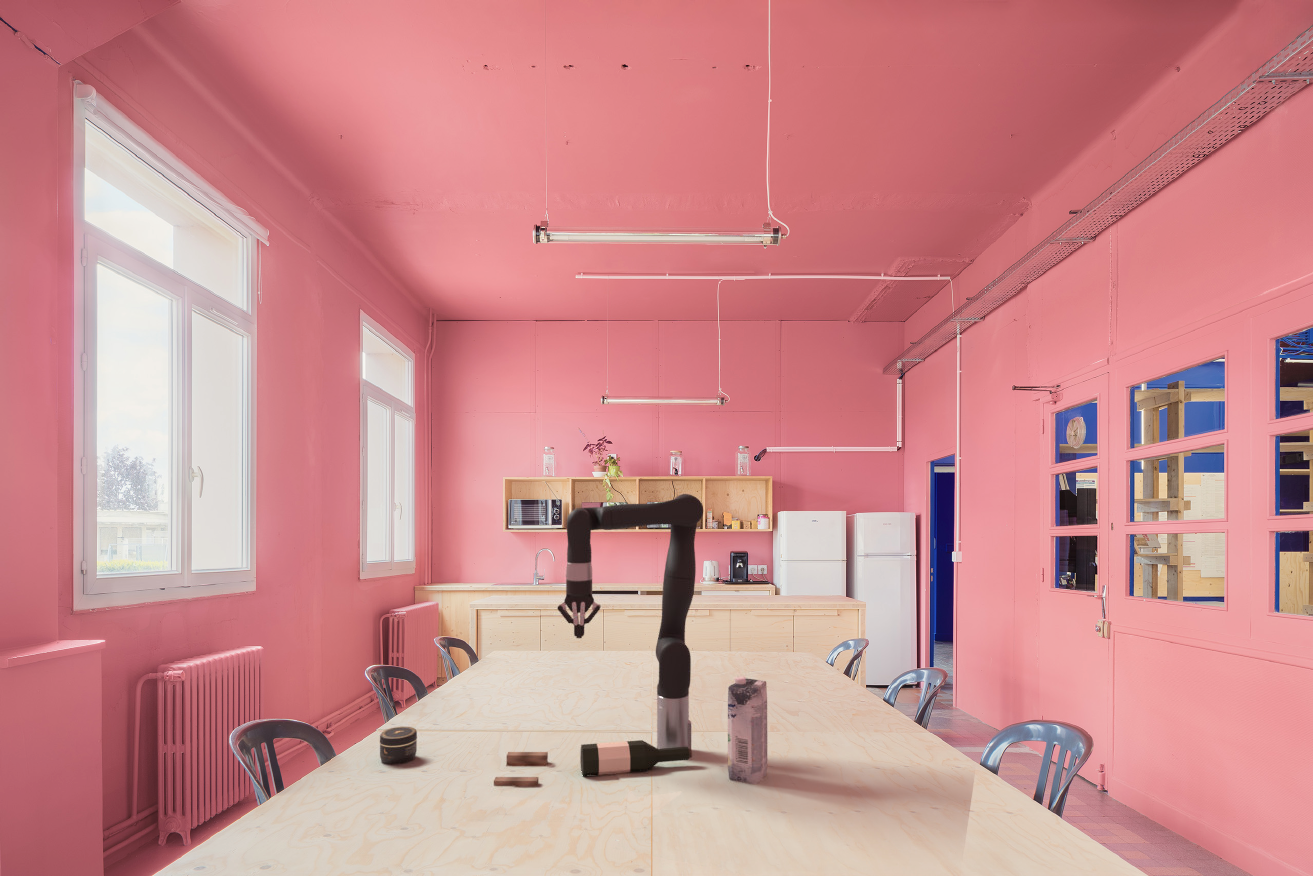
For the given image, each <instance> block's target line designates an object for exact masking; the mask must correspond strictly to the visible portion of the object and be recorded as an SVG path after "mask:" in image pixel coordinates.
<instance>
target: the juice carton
mask: <svg viewBox="0 0 1313 876" xmlns="http://www.w3.org/2000/svg"><path fill="white" fill-rule="evenodd" d="M767 687H768V686H767V681H766V680H760V679H753V678H747V677H746V676H741V675H740V676H735V677H734V683H733V684H730V685H729V686H728V687H727V688H728V689H727V691H728V693H727V769H728V771H727V772H728V773H727V774H728V779H729V780H730V781H732V782H740V783H746V784H752V785H753V784H754V785H755V784H759V783H760V782H761V780H762V779H763V778H764V777H766V775H767V771H768V691H767Z"/></svg>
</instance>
